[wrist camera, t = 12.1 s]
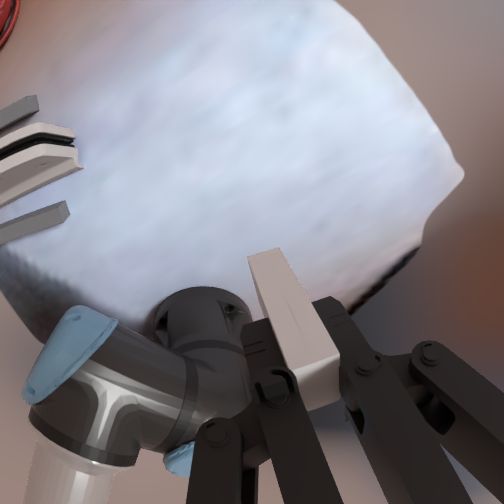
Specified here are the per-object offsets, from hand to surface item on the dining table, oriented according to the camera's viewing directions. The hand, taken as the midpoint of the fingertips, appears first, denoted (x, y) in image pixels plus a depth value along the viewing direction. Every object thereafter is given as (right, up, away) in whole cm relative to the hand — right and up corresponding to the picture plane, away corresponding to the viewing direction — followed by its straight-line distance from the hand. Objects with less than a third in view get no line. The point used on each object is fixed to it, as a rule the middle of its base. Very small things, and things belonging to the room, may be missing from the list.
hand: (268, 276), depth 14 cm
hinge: (-29, +12, +15) cm, 35 cm away
